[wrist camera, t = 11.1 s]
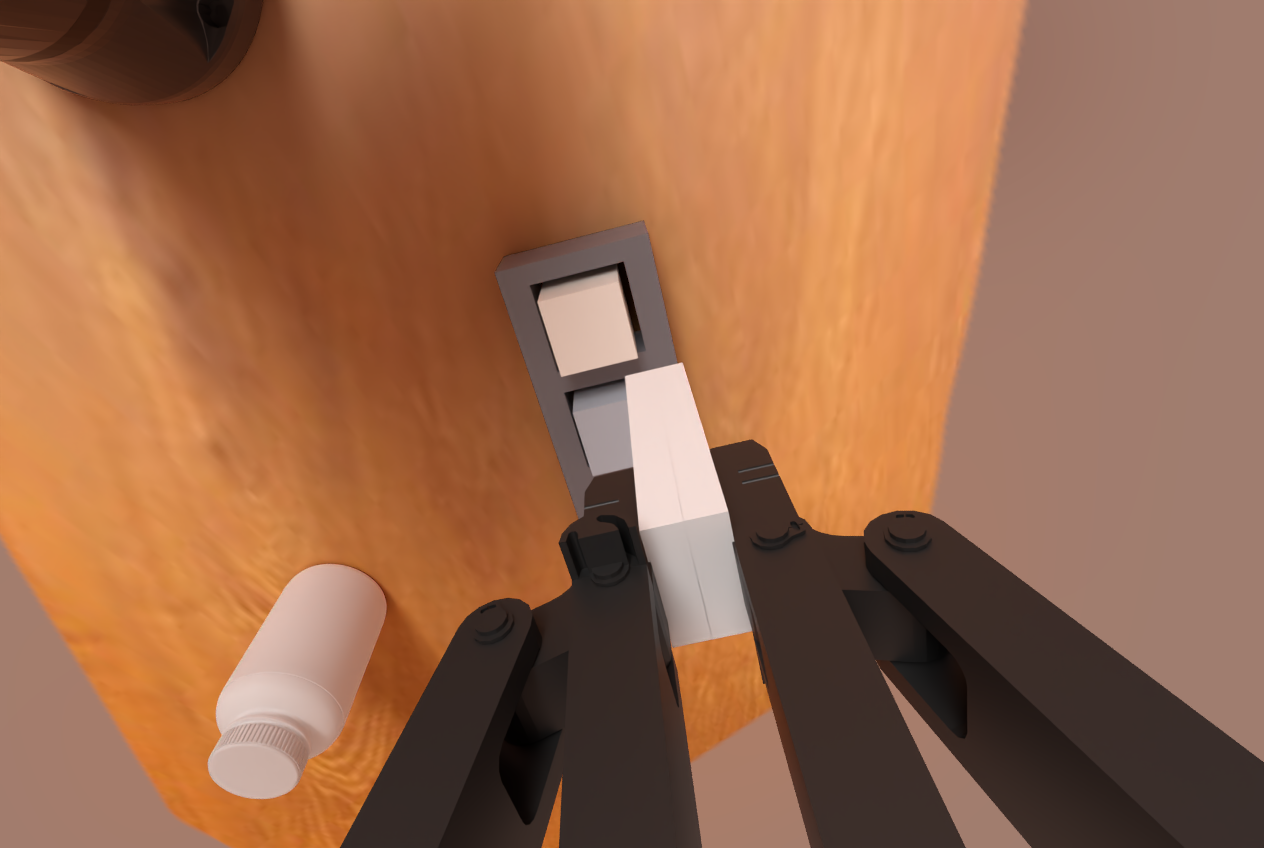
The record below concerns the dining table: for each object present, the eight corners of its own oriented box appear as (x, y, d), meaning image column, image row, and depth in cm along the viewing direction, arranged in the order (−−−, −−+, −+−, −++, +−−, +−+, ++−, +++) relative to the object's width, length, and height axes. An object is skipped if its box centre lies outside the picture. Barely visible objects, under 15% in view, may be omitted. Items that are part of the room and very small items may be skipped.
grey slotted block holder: (595, 534, 51) (595, 567, 47) (503, 256, 41) (494, 272, 37) (709, 508, 50) (717, 540, 47) (643, 220, 40) (648, 233, 37)
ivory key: (564, 349, 42) (561, 376, 38) (543, 280, 40) (537, 302, 36) (634, 332, 42) (638, 358, 38) (616, 262, 40) (618, 281, 36)
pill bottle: (371, 648, 55) (299, 826, 42) (275, 616, 53) (166, 793, 40) (404, 582, 52) (337, 751, 39) (303, 545, 50) (196, 710, 37)
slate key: (593, 442, 45) (592, 476, 41) (575, 382, 43) (572, 412, 39) (658, 426, 45) (664, 459, 41) (642, 366, 43) (647, 394, 39)
